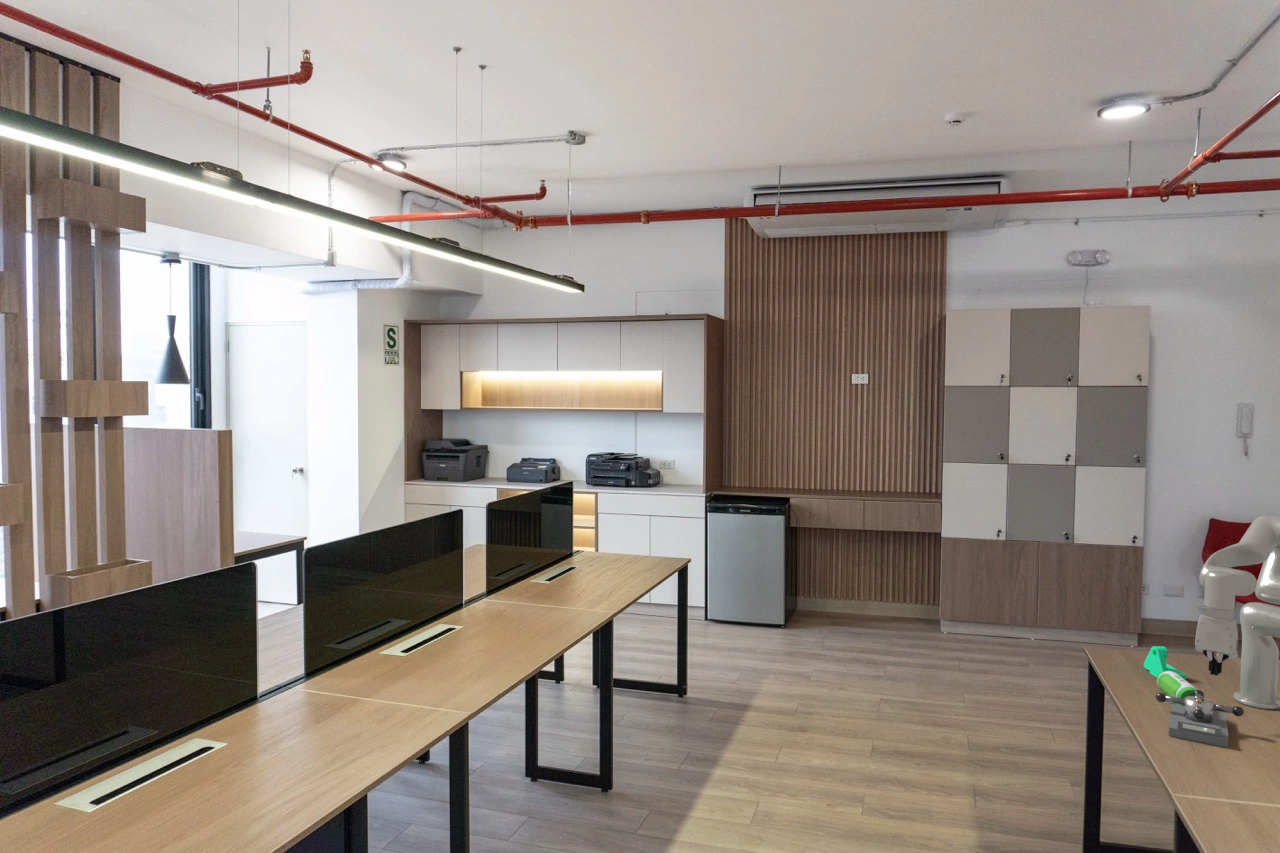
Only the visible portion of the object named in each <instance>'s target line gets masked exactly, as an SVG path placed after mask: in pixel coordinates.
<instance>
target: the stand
mask: <svg viewBox="0 0 1280 853" xmlns="http://www.w3.org/2000/svg"><path fill="white" fill-rule="evenodd" d="M1184 708H1185V706H1182V705H1177V704H1176V703H1170V712H1169V723H1168V725H1169V727H1168V737H1171V738H1177V739H1182V740H1187V741H1193V742H1198V743H1203V744H1208V745H1212V746H1216V747H1222V748H1229V730H1228V721H1227V720H1228V719H1227V713H1226V712H1221V711H1215V710H1213V720H1212V721H1211V722H1200V721H1195V720H1192V719H1189V718H1187V717H1185V716H1184Z"/></svg>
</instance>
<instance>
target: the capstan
mask: <svg viewBox="0 0 1280 853" xmlns="http://www.w3.org/2000/svg"><path fill="white" fill-rule="evenodd" d="M1193 695H1194V696H1188V697H1185V699H1184V698H1178V697H1172V696H1167V695H1166V694H1165V693H1164V692H1157V693H1156V694H1155V699H1156V701H1157V702H1159V703H1165V702H1167V703H1170V704H1176V705H1177V704H1182V705H1185V708H1184V716H1185V717H1187V718H1189V719H1192V720H1195V721H1200V722H1211V721H1212V720H1213V711H1215V712H1220V713H1226V714H1232V715H1234V716H1235V717H1243V715H1245V714H1244V713H1245V711H1244V709H1243V708H1242V707H1241V706H1239V705H1237V706H1229V705H1224V704H1223V705H1221V704H1219V703H1218V704H1217V703H1214V702H1213V701H1212V700H1211V699H1208V698H1206V697H1205V694H1204V691H1203V690H1200V689H1198V690H1195V691H1194V692H1193Z"/></svg>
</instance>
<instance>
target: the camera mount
mask: <svg viewBox="0 0 1280 853" xmlns="http://www.w3.org/2000/svg"><path fill="white" fill-rule="evenodd" d="M1168 656H1169V654H1168V649H1167V647H1165V646H1164V645H1163V646H1159V645H1157V646H1155V645H1154V646H1151V648H1150V649H1149V652H1148V655H1147V656H1146V658H1145V660H1144V662H1143V668H1145V669H1147V670H1148V671H1149V674H1150V675H1152V676H1154V677H1155V678H1157V677H1158V675H1159V674H1160V673H1162V672H1164V671H1172V672H1175V673H1177V674H1178V675H1179V676H1181V677H1182V678H1183V679H1184V680H1186V673H1184V672H1183V671H1181V670H1180V669H1177V668H1175V667H1173V666H1172V665H1170V664H1168V663H1166V660H1167V659H1168Z"/></svg>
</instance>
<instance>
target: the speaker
mask: <svg viewBox="0 0 1280 853" xmlns="http://www.w3.org/2000/svg"><path fill="white" fill-rule="evenodd" d="M1156 683H1157V687H1158V688H1159V689H1160V691H1161V692H1162V693H1163V694H1165V695H1167V696H1172V697H1178V698H1184V699H1185V697H1188V696H1194V695H1193V692H1194V691H1195V690H1199V689H1198V688H1197V687H1195V686H1194V685H1192V684H1191V683H1190V682H1189V681H1187V680H1186V679H1183V678H1182V677H1181V676H1179V675H1178V674H1177V673H1175V672H1172V671H1164V672H1162V673H1160V674H1159V675H1158V677H1156ZM1176 705H1182V704H1176ZM1182 706H1185V705H1182Z"/></svg>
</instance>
